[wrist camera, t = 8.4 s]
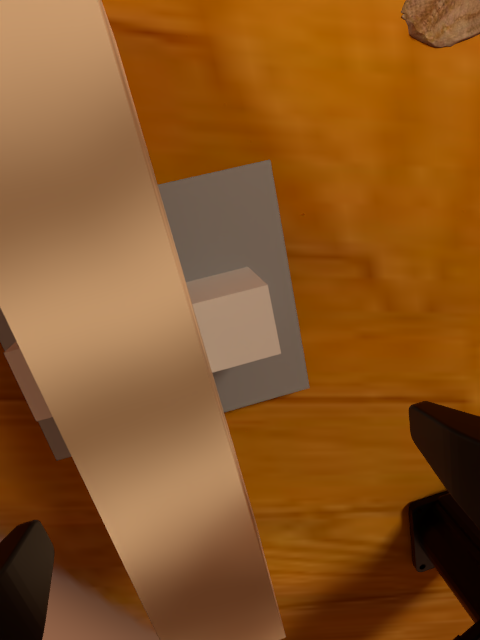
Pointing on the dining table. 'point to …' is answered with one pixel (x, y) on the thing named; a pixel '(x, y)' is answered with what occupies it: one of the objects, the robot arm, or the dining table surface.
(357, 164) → the dining table surface
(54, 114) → the beech bar
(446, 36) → the fish fossil
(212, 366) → the fulcrum
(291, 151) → the dining table surface
